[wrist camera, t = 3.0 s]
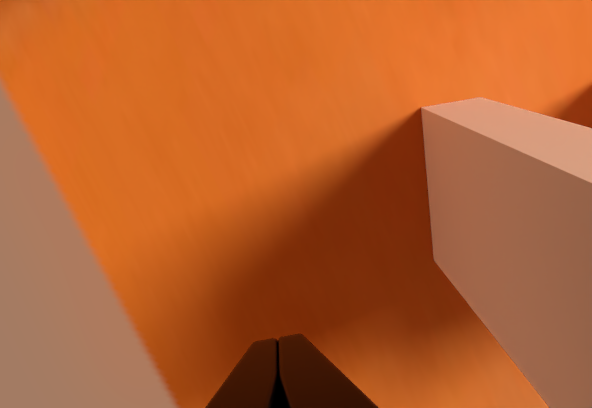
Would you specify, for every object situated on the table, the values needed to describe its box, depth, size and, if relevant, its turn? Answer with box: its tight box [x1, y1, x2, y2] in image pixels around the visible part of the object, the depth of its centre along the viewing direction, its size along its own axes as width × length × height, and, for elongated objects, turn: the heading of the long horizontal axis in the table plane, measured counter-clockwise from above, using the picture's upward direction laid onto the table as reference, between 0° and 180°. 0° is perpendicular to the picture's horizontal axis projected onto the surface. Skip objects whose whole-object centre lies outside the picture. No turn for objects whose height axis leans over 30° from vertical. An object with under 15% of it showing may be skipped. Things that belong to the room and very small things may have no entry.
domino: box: [421, 97, 592, 408], centre depth 12 cm, size 2×5×9 cm, turn 9°
